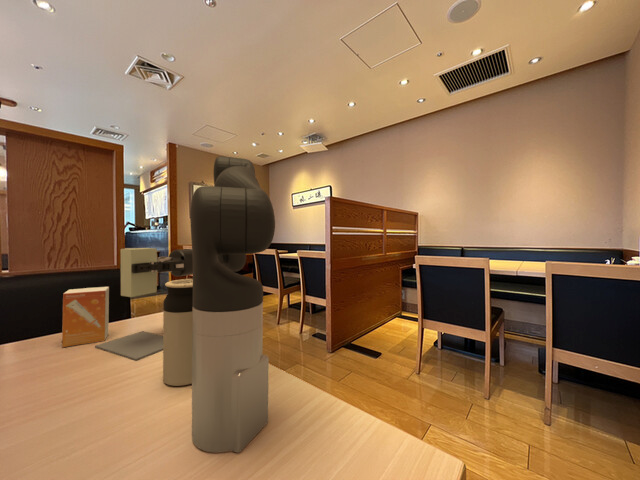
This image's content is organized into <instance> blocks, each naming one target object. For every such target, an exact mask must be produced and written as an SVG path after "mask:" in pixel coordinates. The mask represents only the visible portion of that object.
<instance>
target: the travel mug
mask: <svg viewBox="0 0 640 480" xmlns="http://www.w3.org/2000/svg"><path fill="white" fill-rule="evenodd" d="M164 285H165V287H166V290H167V294H166V296H165V297H164V299H163V317H162V318H163V320H162V323H163V324H162V326H163V329H162V331H163V333H162V336H163V350H162V354H163V355H162V368H163V369H162V370H163V371H162V382H163V383H164V384H165V385H166V384H167V385H168V386H174V387H179V386H188V385H192V313H193V278H184V279H175V280H170V281H167V282H166V283H164Z"/></svg>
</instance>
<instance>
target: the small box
mask: <svg viewBox="0 0 640 480" xmlns="http://www.w3.org/2000/svg"><path fill="white" fill-rule="evenodd" d="M109 300H110V286H98V287H86V288H85V287H83V288H73V289H72V288H71V289H68V290H67V291H65V292H63V296H62V329H61V333H62V334H61V335H62V336H61V337H62V339H61V340H62V341H61V348H66V347H73V346H80V345H85V344H92V343H100V342H101V343H102V342H105V341H106V340H107V337H108V335H109V315H110V314H109V313H110V311H109V310H110V308H109V307H110V306H109V305H110V301H109Z"/></svg>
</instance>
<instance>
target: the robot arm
mask: <svg viewBox="0 0 640 480" xmlns="http://www.w3.org/2000/svg"><path fill="white" fill-rule="evenodd" d="M213 184H214V186H212V185H208V186H207V185H203V186H202V185H201V186H199V187H197V188H196V189H195V191H194V192H193V193H192V194H193V195H192V197H191V202H190V211H189V214H190V216H189V217H190V218H189V219H190V237H191V239H190V240H191V248H190V249H189V248H188V249H174V250H173V251H171V252H170V254H169V256H159V257H158V256H157V261H155V262H154V261H152V262H150V263H137V264H132V273H143V272H152V273H153V272H157V273H161V274H162V273H170V274H171V275H172V276H174V277H178V278H179V277H183V276H185V277H186V276H192V279H193V313H192V384H191V441H192V443H193V444H194V446H195V447H197V448H198V449H200V450H202V451H205V452H209V453H222V452H224V453H225V452H228V451H229V452H231V451H232V452H234V453H237V454H238V453H240V452H241V451H243V450H244V448H245V447H246V446H248V444H249V443H250V442H251V441H252V440H253V439H254V438H255V436H257V434H258V433H260V431H261V430H262V429H263V428H264V427H265V426H266V425H267V424H268V423H269V372H270V371H269V368H270V367H269V365H270V364H269V362H270V361H269V356H268V355H267V354H263V352H264V351H263V348H264V346H263V345H264V344H263V342H264V341H263V339H264V337H263V335H264V333H263V331H264V326H263V325H264V315H263V314H264V287H263V284H262V282H261V281H260V280H258V279H255V278H253V277H250V276H246V275H242V274H240V273H237V272H239V271H241V270H242V269H243V268H244V266H245V265H246V262H247V261H246V260H247V255H251V254H258V253H262V252H264V251H266V250H267V249H268V248H269V247H270V246H271V244H272V242H273V240H274V236H275V232H276V218H275V217H276V216H275V212H274V208H273V203H272V201H271V199H270V197H269V195H268V194H267V192H266V191H265V190H263V189H262V188H261V186H260V182H259V181H258V179H257V177H256V170H255V165H254V164H253V162H252V161H251V160H250V159H247V158H242V157H241V158H240V157H235V156H234V157H232V156H221V155H220V156H216V158H215V160H214V162H213ZM119 271H120V272H121V263H120V264H119Z"/></svg>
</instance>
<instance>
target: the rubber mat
mask: <svg viewBox="0 0 640 480" xmlns="http://www.w3.org/2000/svg"><path fill="white" fill-rule="evenodd" d="M94 348H96V349H99V350H101V351H102V350H103V351H104V352H108V353H112V354H114V355H118V356H120V357H124V358H127V359H130V360H133V361H134V362H135V361H136V362H137V361H139V360H142V359H144V358H147V357H149V356H153V355H154V354H157V353H159V352H163V335H161V334H156V333H152V332H148V331H145V330H141V331H138V332H134V333H131V334H128V335H125V336H122V337H119V338H115V339H112V340H109V341H107V342H105V341H104V342H101V343H99V344H96V345H94Z"/></svg>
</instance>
